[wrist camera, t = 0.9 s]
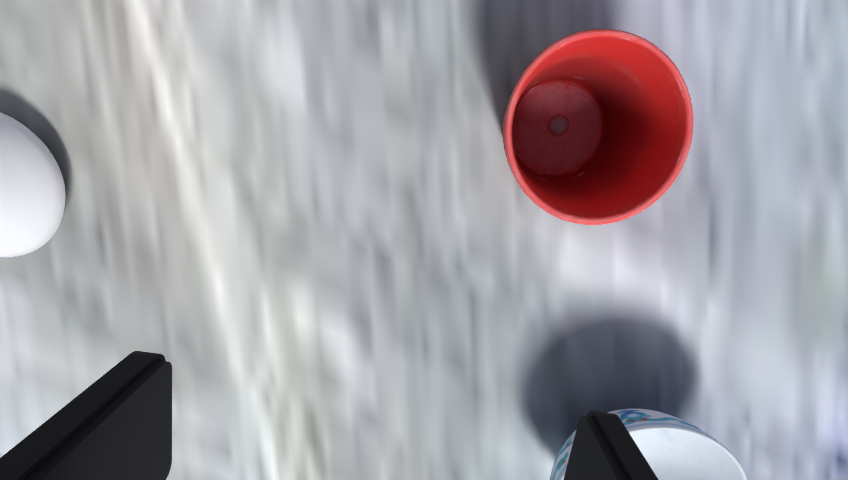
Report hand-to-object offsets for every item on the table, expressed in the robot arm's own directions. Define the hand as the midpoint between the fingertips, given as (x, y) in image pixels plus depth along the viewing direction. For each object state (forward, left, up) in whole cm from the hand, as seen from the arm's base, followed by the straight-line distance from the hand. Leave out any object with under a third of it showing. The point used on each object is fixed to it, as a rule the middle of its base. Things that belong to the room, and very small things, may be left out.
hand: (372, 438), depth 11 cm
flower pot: (-11, +6, -28) cm, 31 cm away
